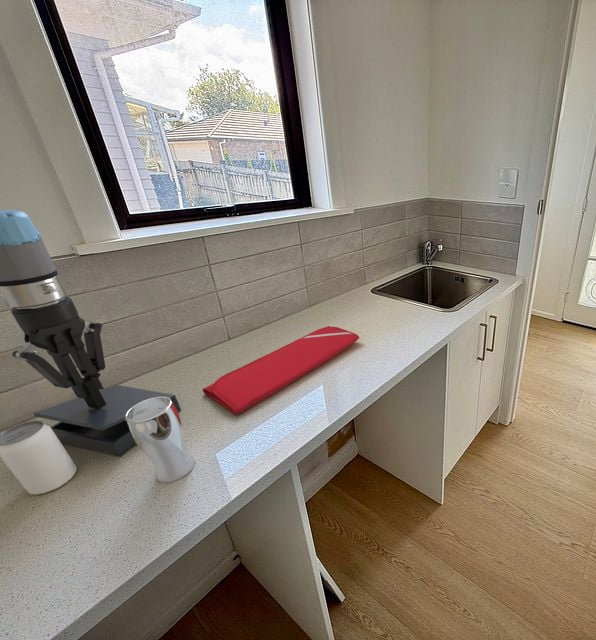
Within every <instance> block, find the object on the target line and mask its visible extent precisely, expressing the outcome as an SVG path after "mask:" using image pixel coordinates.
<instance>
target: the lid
mask: <svg viewBox="0 0 596 640" xmlns="http://www.w3.org/2000/svg"><path fill="white" fill-rule="evenodd" d="M99 391H100V393H101V395H102V397H103V399H104V400H105V402H106V404H107V405H105V406H104V407H102V408H100V409H95V408H90V407H88V405H87V403H86V401H85V400H84V399H83V398H78V397H76V398H73V399H71V400H67V401H64V402H61V403H59V404H56V405H53V406H49V407H47V408H44V409H41V410H38V411H35V412H33V416H34V417H35V418H39V419H46V420H50V421H56V422H58V423H59V422H64V423H69V424H74V425H79V426H84V427H88V428H93V429H98V430H105V429H107V428H109V427H111V426H114V425H116V424H118V423H121V422H123V421H125V414H126V412H127V411H128V410H129V409H130V408H131V407H133V406H134V405H136V404H138V403H139V402H142V401H144V400H147V399H150V398H154V397H168V398H170V399H171V400H172V399H175V398H176V399H177V396H176V394H172V393H166V392H160V391H155V390H148V389H143V388H137V387H132V386H125V385H120V384H119V385H118V384H114V385H112V386H109V387H106V388H102V389H100V390H99Z"/></svg>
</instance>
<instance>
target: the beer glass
mask: <svg viewBox="0 0 596 640" xmlns="http://www.w3.org/2000/svg"><path fill="white" fill-rule="evenodd" d="M125 420H126V422H127V425H128V428H129V431H130V433H131V435H132V438H133V439H134V441H135V443H136V444H137V445H136V446H137V447H138V448H139V449H140V451H141V452H142V453H143V454H144V455H145V456H146V457H147V458H148V459H149V460H150V461H151V463H152V464H153V466H154V470H155V476H156V479H157V481H159V482H161V483H172V482H175V481H178V480H181V479H182V478H184V477H185V476H187V475H188V474H189V473H190V472H191V471H192V469H193V468H194V467H195V464H196V459H195V458H194V457H193V455H192V454H191V453H190V451H189V450H188V448H187V445H186V438H185V437H186V436H185V430H184V426H183V422H182V419H181V416H180V414H179V412H177V410H176V408H175V407H174V405H173V403H172V401H171V399H170V398H168V397H154V398H150V399H147V400H144V401H142V402H139V403H138V404H136V405H134V406H133V407H131V408H130V409H129V410H128V411H127V412H126V414H125Z"/></svg>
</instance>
